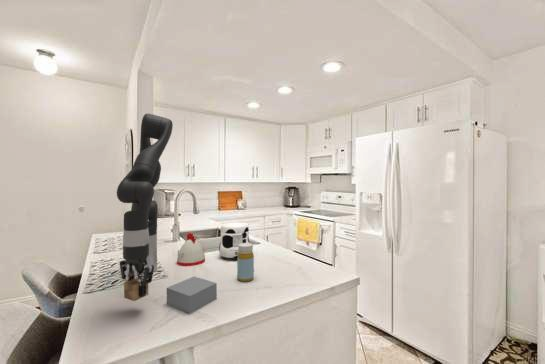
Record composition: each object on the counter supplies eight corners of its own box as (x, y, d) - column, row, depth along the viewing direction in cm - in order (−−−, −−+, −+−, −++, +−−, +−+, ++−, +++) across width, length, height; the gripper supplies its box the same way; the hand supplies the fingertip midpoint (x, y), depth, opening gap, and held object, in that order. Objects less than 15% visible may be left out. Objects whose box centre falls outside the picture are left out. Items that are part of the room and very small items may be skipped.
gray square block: (166, 304, 88) (166, 287, 88) (194, 291, 98) (193, 276, 98) (190, 314, 81) (189, 296, 81) (216, 299, 91) (216, 283, 91)
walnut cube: (124, 297, 81) (124, 282, 81) (138, 291, 86) (138, 276, 86) (134, 301, 79) (134, 285, 79) (148, 294, 84) (148, 279, 84)
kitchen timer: (196, 256, 142) (196, 229, 142) (209, 261, 133) (209, 233, 133) (172, 261, 132) (172, 233, 132) (185, 268, 123) (184, 237, 123)
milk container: (232, 250, 153) (232, 220, 153) (256, 254, 144) (256, 223, 144) (212, 258, 138) (212, 225, 138) (237, 263, 129) (237, 228, 129)
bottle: (234, 279, 109) (234, 244, 109) (246, 274, 114) (246, 241, 114) (244, 283, 104) (244, 247, 104) (257, 278, 109) (256, 244, 109)
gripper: (110, 242, 82) (111, 294, 82) (140, 248, 76) (141, 304, 76) (132, 237, 88) (132, 285, 89) (161, 242, 82) (161, 294, 83)
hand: (136, 294), depth 82 cm, fingers closed on walnut cube, 5 cm apart
